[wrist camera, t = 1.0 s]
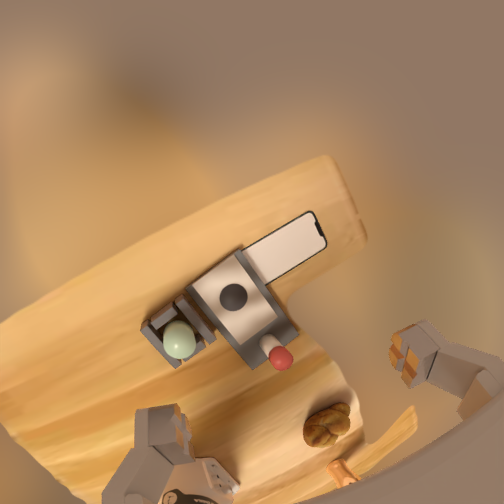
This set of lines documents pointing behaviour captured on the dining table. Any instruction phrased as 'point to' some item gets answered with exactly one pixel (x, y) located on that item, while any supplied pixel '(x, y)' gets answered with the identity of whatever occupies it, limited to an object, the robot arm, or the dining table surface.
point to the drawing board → (241, 307)
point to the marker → (276, 352)
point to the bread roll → (327, 426)
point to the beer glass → (341, 473)
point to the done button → (179, 339)
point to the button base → (167, 314)
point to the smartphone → (286, 247)
